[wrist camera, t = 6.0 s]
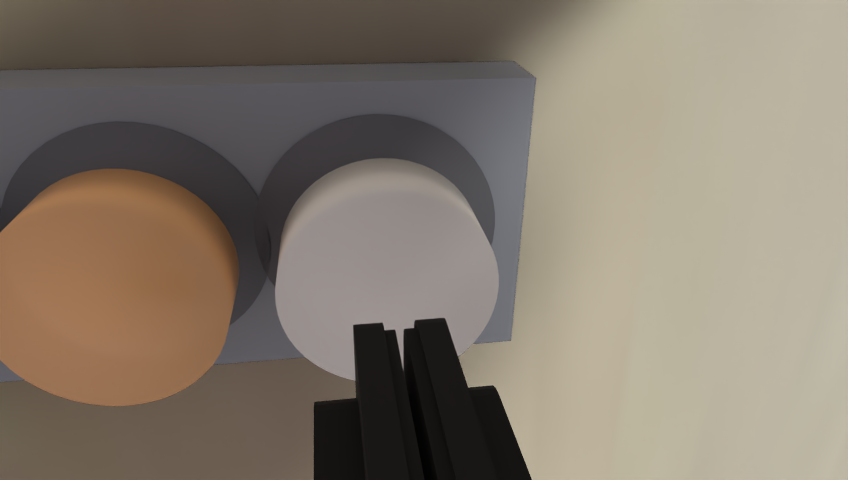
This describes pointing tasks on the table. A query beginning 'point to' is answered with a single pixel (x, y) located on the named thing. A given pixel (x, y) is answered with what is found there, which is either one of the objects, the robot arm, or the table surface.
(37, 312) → the orange button
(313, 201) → the cream button
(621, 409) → the table surface
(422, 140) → the button panel
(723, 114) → the table surface
